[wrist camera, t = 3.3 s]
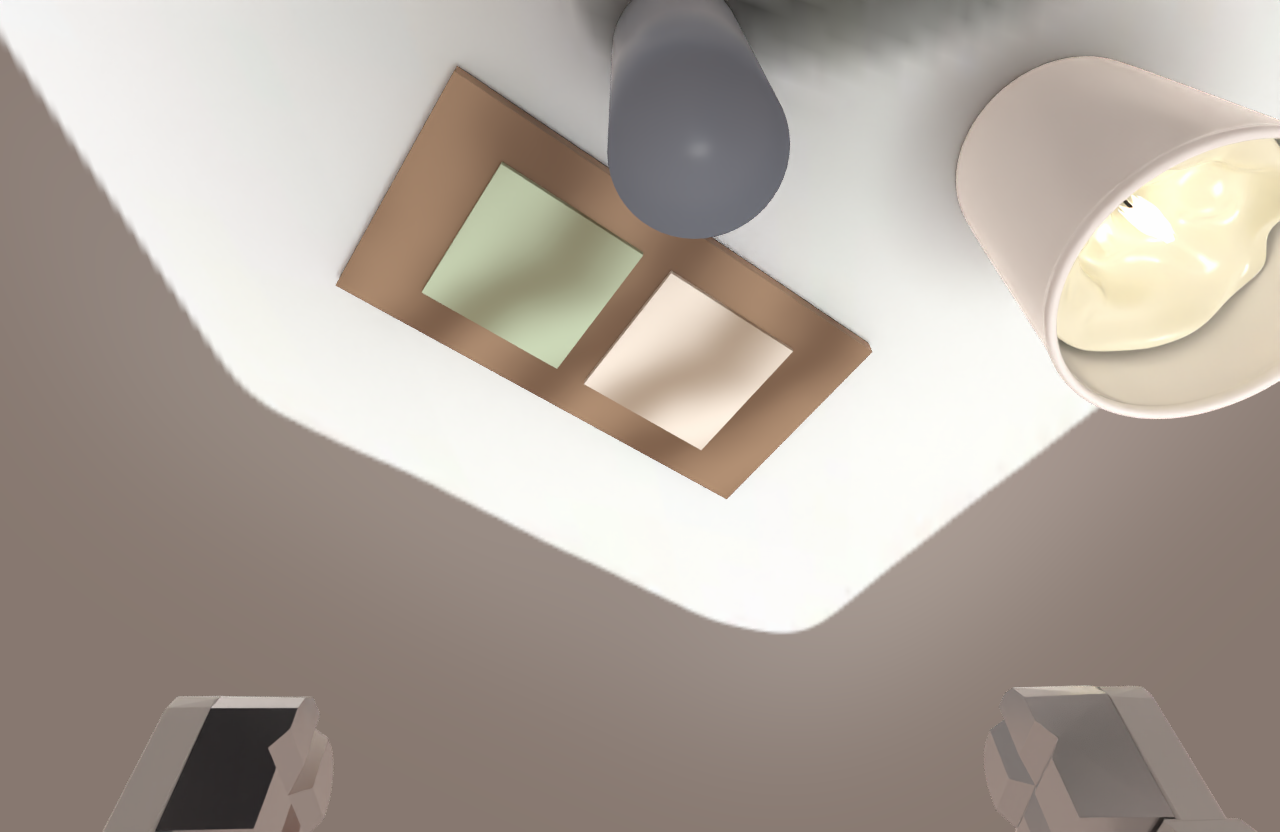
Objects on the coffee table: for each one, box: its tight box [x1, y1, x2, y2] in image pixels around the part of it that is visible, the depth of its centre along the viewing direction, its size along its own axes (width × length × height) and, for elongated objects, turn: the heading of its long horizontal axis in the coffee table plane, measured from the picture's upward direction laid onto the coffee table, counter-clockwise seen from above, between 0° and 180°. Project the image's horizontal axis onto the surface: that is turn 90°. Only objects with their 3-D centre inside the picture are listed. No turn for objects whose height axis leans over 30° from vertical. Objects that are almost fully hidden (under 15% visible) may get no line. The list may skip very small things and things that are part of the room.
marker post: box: [607, 0, 790, 239], centre depth 29 cm, size 5×5×12 cm
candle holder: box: [956, 56, 1280, 419], centre depth 31 cm, size 10×10×12 cm
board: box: [336, 66, 872, 499], centre depth 40 cm, size 22×11×1 cm, turn 55°
